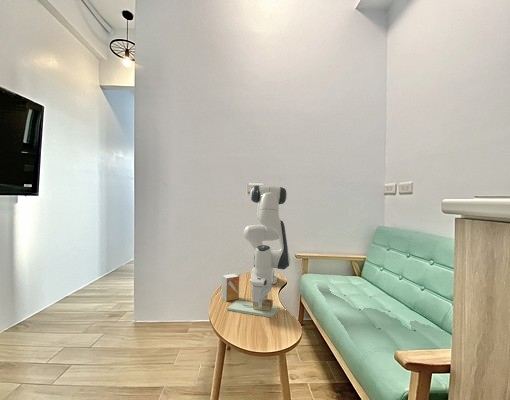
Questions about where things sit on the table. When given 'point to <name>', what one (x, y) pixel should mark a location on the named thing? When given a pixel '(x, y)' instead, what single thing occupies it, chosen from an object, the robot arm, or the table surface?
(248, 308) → the board
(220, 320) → the table surface
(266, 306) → the block
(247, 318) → the table surface
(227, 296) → the small box
